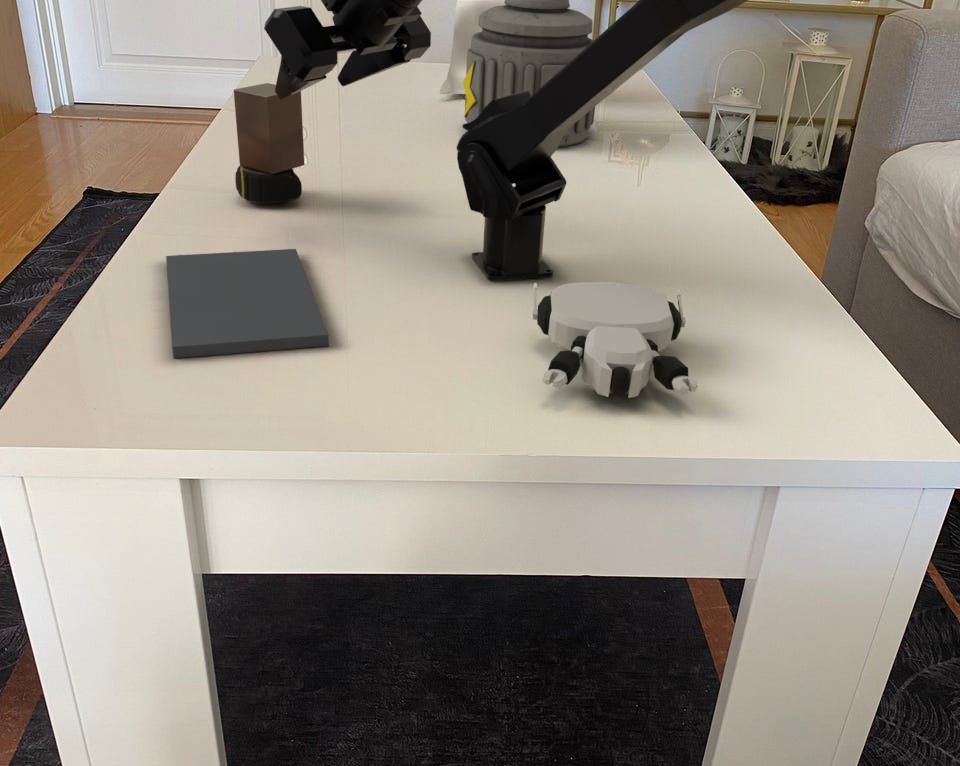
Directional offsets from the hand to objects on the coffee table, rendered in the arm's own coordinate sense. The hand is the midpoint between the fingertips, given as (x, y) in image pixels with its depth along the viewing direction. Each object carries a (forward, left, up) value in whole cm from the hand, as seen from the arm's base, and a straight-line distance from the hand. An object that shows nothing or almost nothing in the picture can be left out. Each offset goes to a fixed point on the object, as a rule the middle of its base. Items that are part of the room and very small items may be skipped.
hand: (310, 88), depth 101 cm
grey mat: (-24, +10, -13) cm, 29 cm away
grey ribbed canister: (+31, -35, -13) cm, 49 cm away
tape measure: (+5, +4, -13) cm, 15 cm away
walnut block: (+5, +4, -9) cm, 11 cm away
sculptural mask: (+62, -46, -6) cm, 78 cm away
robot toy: (-42, -17, -13) cm, 47 cm away
